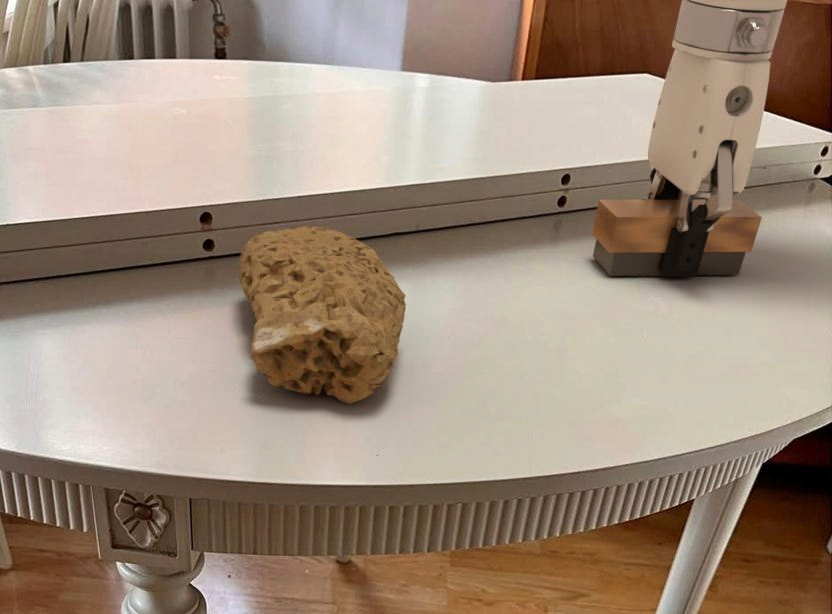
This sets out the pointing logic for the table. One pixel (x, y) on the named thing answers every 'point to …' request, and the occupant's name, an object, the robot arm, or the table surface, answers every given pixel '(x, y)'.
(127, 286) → the table surface
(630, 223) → the brush
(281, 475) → the table surface
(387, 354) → the sponge
